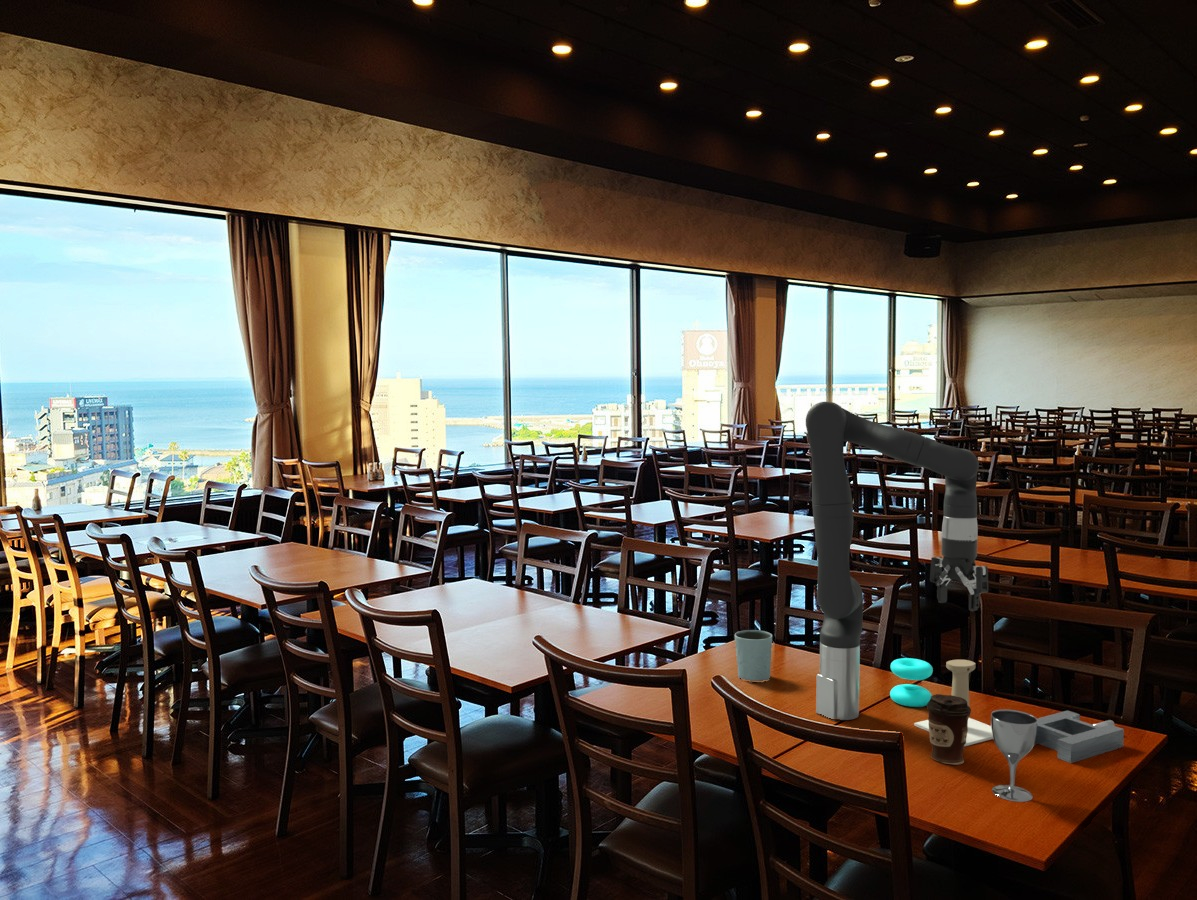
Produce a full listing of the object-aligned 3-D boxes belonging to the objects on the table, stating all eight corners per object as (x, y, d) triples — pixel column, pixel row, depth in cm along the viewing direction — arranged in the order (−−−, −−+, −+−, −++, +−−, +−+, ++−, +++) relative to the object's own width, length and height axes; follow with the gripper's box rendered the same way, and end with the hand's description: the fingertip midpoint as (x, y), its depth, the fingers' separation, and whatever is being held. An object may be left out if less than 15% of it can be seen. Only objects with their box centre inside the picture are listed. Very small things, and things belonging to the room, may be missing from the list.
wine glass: (981, 785, 171) (983, 710, 171) (1020, 783, 172) (1022, 708, 171) (1003, 803, 163) (1005, 725, 163) (1044, 801, 164) (1046, 723, 163)
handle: (978, 729, 199) (979, 664, 198) (955, 733, 197) (956, 667, 196) (963, 721, 203) (964, 658, 202) (940, 725, 201) (941, 661, 200)
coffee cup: (948, 770, 178) (949, 708, 177) (916, 756, 185) (917, 696, 185) (977, 762, 182) (979, 701, 181) (945, 748, 189) (946, 689, 189)
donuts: (907, 670, 212) (882, 658, 222) (907, 710, 213) (881, 697, 222) (941, 666, 215) (915, 655, 225) (941, 706, 216) (914, 693, 225)
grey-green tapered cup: (775, 683, 233) (775, 639, 233) (737, 683, 233) (737, 639, 233) (768, 672, 243) (768, 629, 243) (731, 672, 244) (732, 629, 243)
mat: (964, 746, 191) (964, 743, 191) (914, 725, 203) (914, 723, 203) (1007, 734, 197) (1007, 732, 197) (956, 715, 209) (956, 712, 209)
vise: (1070, 763, 182) (1071, 744, 181) (1015, 741, 193) (1015, 724, 193) (1139, 741, 193) (1140, 724, 192) (1083, 722, 204) (1083, 706, 204)
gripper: (923, 533, 204) (921, 601, 205) (974, 542, 191) (972, 615, 192) (945, 531, 207) (944, 598, 208) (997, 539, 195) (995, 611, 196)
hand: (957, 606), depth 200 cm, fingers open, 8 cm apart
